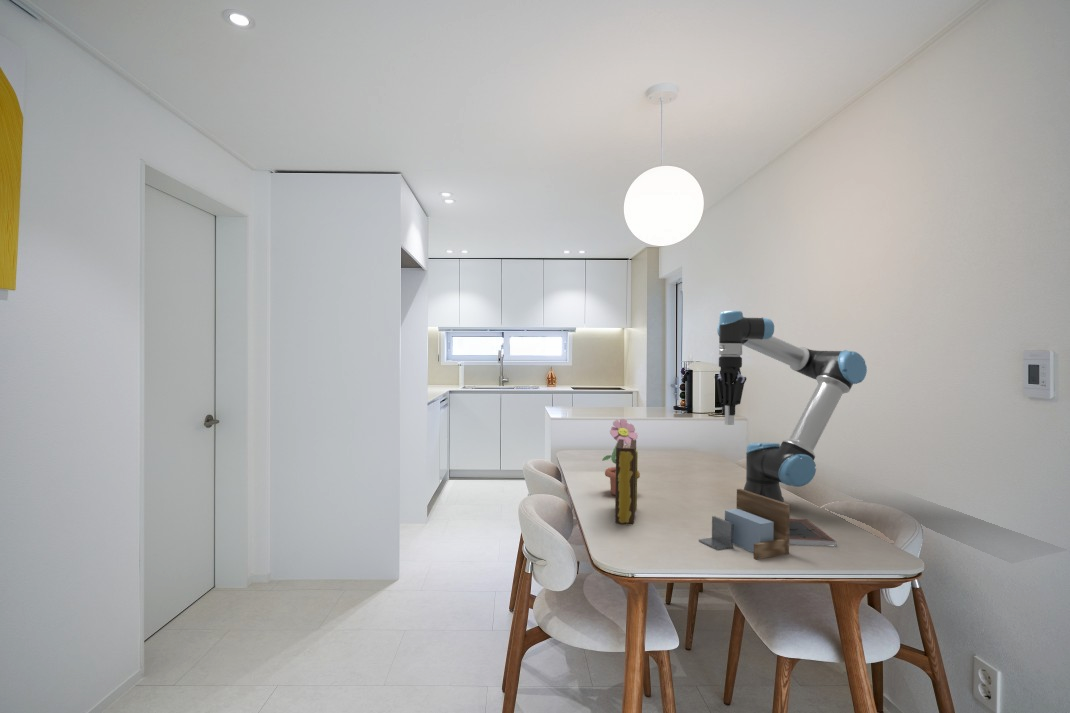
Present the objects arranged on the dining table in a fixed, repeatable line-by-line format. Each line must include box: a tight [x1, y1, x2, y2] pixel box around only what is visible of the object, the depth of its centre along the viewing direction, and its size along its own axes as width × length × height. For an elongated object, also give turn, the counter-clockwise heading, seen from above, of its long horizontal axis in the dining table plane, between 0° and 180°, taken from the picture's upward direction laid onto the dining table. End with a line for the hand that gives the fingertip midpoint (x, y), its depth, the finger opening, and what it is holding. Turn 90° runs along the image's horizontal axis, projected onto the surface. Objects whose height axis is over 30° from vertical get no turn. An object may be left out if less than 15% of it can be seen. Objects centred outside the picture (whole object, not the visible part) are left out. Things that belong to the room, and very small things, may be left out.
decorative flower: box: [601, 418, 641, 496], centre depth 218 cm, size 15×14×30 cm
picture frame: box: [789, 518, 837, 547], centre depth 174 cm, size 16×2×22 cm
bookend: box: [698, 515, 734, 551], centre depth 162 cm, size 6×8×7 cm
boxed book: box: [724, 508, 774, 554], centre depth 162 cm, size 5×14×9 cm, turn 23°
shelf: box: [736, 488, 791, 560], centre depth 162 cm, size 12×19×14 cm, turn 23°
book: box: [614, 439, 640, 525], centre depth 191 cm, size 22×8×25 cm, turn 168°
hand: (729, 424), depth 188 cm, fingers closed
